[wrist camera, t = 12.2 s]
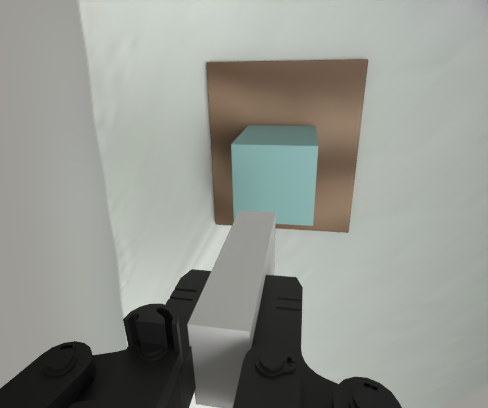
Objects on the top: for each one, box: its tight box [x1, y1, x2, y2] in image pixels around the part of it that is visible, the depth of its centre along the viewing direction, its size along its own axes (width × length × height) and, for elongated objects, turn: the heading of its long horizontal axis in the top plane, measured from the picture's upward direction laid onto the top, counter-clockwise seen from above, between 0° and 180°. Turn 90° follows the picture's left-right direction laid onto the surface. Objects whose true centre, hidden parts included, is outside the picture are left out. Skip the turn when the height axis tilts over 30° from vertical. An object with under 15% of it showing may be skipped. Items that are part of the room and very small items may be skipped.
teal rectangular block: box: [231, 125, 318, 226], centre depth 24 cm, size 5×5×7 cm
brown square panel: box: [207, 59, 368, 233], centre depth 25 cm, size 14×12×8 cm
